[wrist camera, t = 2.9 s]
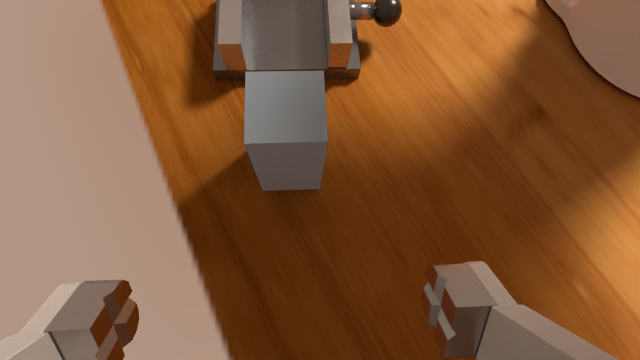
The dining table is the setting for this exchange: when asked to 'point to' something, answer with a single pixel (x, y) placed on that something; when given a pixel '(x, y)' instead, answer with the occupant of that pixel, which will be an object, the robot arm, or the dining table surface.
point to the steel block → (286, 128)
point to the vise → (275, 39)
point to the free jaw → (339, 24)
